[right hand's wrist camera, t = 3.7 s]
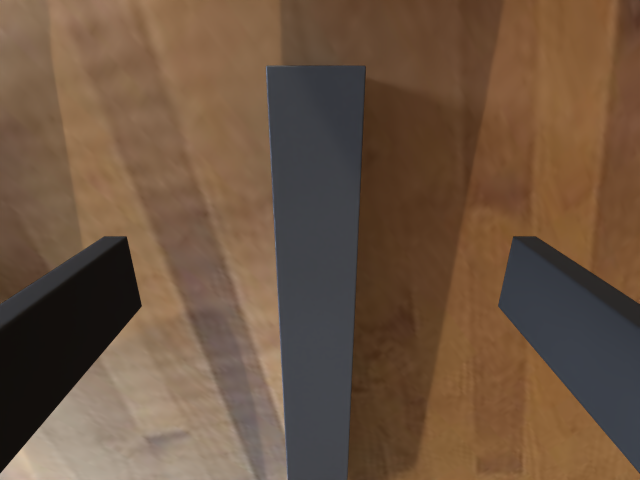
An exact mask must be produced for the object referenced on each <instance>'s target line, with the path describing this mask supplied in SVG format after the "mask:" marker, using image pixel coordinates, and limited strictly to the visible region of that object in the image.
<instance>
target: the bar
mask: <svg viewBox="0 0 640 480" xmlns="http://www.w3.org/2000/svg"><path fill="white" fill-rule="evenodd" d="M365 73H366V66H266V79H267V98H268V117H269V136H270V155H271V174H272V193H273V212H274V231H275V250H276V269H277V288H278V307H279V326H280V345H281V364H282V382H283V401H284V420H285V439H286V458H287V477H288V480H347V476H348V454H349V431H350V409H351V386H352V364H353V342H354V319H355V297H356V275H357V252H358V230H359V207H360V185H361V163H362V140H363V118H364V95H365Z"/></svg>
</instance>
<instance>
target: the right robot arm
mask: <svg viewBox="0 0 640 480" xmlns="http://www.w3.org/2000/svg"><path fill="white" fill-rule="evenodd" d="M141 307H142V305H141V300H140V295H139V291H138V286H137V282H136V277H135V272H134V268H133V263H132V259H131V254H130V249H129V245H128V240H127V236H104V237H103V238H101V239H100V240H98V241H96V242H95V243H93V244H92V245H90V246H89V247H87V248H86V249H84V250H83V251H81V252H80V253H78V254H77V255H75V256H73V257H72V258H70V259H69V260H67V261H66V262H64V263H63V264H61V265H60V266H58V267H57V268H55V269H54V270H52V271H50V272H49V273H47V274H46V275H44V276H43V277H41V278H40V279H38V280H37V281H35V282H34V283H32V284H31V285H29V286H27V287H26V288H24V289H23V290H21V291H20V292H18V293H17V294H15V295H14V296H12V297H11V298H9V299H8V300H6V301H4V302H3V303H1V304H0V473H1V472H2V471H3V470H4V468H5V467H6V466H7V465H8V464H9V463H10V461H11V460H12V459H13V458H14V457H15V455H16V454H17V453H18V452H19V451H20V450H21V448H22V447H23V446H24V445H25V444H26V442H27V441H28V440H29V439H30V438H31V437H32V435H33V434H34V433H35V432H36V431H37V429H38V428H39V427H40V426H41V425H42V424H43V422H44V421H45V420H46V419H47V418H48V416H49V415H50V414H51V413H52V412H53V411H54V409H55V408H56V407H57V406H58V405H59V403H60V402H61V401H62V400H63V399H64V398H65V396H66V395H67V394H68V393H69V392H70V390H71V389H72V388H73V387H74V386H75V385H76V383H77V382H78V381H79V380H80V379H81V377H82V376H83V375H84V374H85V373H86V372H87V370H88V369H89V368H90V367H91V366H92V364H93V363H94V362H95V361H96V360H97V359H98V357H99V356H100V355H101V354H102V353H103V351H104V350H105V349H106V348H107V347H108V346H109V344H110V343H111V342H112V341H113V340H114V338H115V337H116V336H117V335H118V334H119V333H120V331H121V330H122V329H123V328H124V327H125V325H126V324H127V323H128V322H129V321H130V320H131V318H132V317H133V316H134V315H135V314H136V312H137V311H138V310H139V309H140V308H141ZM498 307H499V308H500V309H501V310H502V311H503V312H504V314H505V315H506V316H507V317H508V318H509V320H510V321H511V322H512V323H513V324H514V325H515V327H516V328H517V329H518V330H519V331H520V333H521V334H522V335H523V336H524V337H525V338H526V340H527V341H528V342H529V343H530V344H531V346H532V347H533V348H534V349H535V350H536V351H537V353H538V354H539V355H540V356H541V357H542V359H543V360H544V361H545V362H546V363H547V364H548V366H549V367H550V368H551V369H552V370H553V372H554V373H555V374H556V375H557V376H558V377H559V379H560V380H561V381H562V382H563V383H564V385H565V386H566V387H567V388H568V389H569V390H570V392H571V393H572V394H573V395H574V396H575V398H576V399H577V400H578V401H579V402H580V403H581V405H582V406H583V407H584V408H585V409H586V411H587V412H588V413H589V414H590V415H591V416H592V418H593V419H594V420H595V421H596V422H597V424H598V425H599V426H600V427H601V428H602V429H603V431H604V432H605V433H606V434H607V435H608V437H609V438H610V439H611V440H612V441H613V442H614V444H615V445H616V446H617V447H618V448H619V450H620V451H621V452H622V453H623V454H624V455H625V457H626V458H627V459H628V460H629V461H630V463H631V464H632V465H633V466H634V467H635V468H636V470H637V471H638V472H639V473H640V304H639V303H637V302H636V301H634V300H632V299H631V298H629V297H628V296H626V295H625V294H623V293H622V292H620V291H619V290H617V289H616V288H614V287H613V286H611V285H609V284H608V283H606V282H605V281H603V280H602V279H600V278H599V277H597V276H596V275H594V274H593V273H591V272H590V271H588V270H586V269H585V268H583V267H582V266H580V265H579V264H577V263H576V262H574V261H573V260H571V259H570V258H568V257H567V256H565V255H563V254H562V253H560V252H559V251H557V250H556V249H554V248H553V247H551V246H550V245H548V244H547V243H545V242H544V241H542V240H540V239H539V238H537V237H536V236H513V240H512V245H511V249H510V254H509V259H508V263H507V268H506V272H505V277H504V282H503V286H502V291H501V295H500V300H499V305H498Z"/></svg>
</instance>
